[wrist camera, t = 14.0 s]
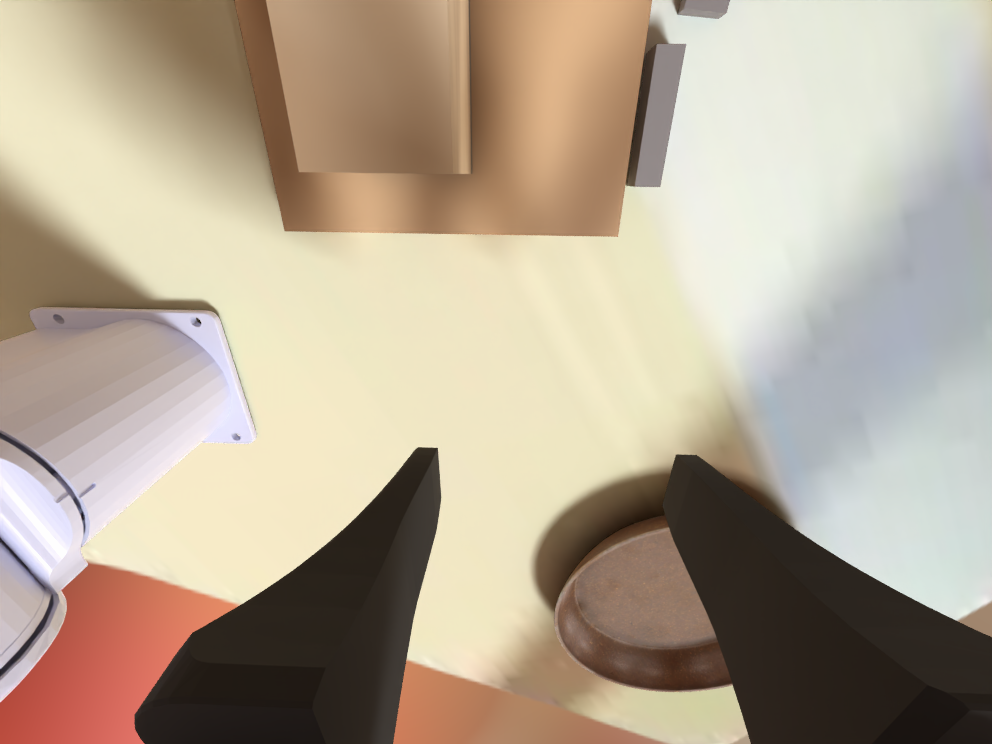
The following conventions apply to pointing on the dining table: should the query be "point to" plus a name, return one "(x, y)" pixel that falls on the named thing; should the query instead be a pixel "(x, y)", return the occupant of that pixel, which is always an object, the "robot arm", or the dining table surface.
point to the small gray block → (655, 114)
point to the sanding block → (376, 84)
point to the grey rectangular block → (703, 8)
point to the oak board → (490, 129)
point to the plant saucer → (639, 615)
